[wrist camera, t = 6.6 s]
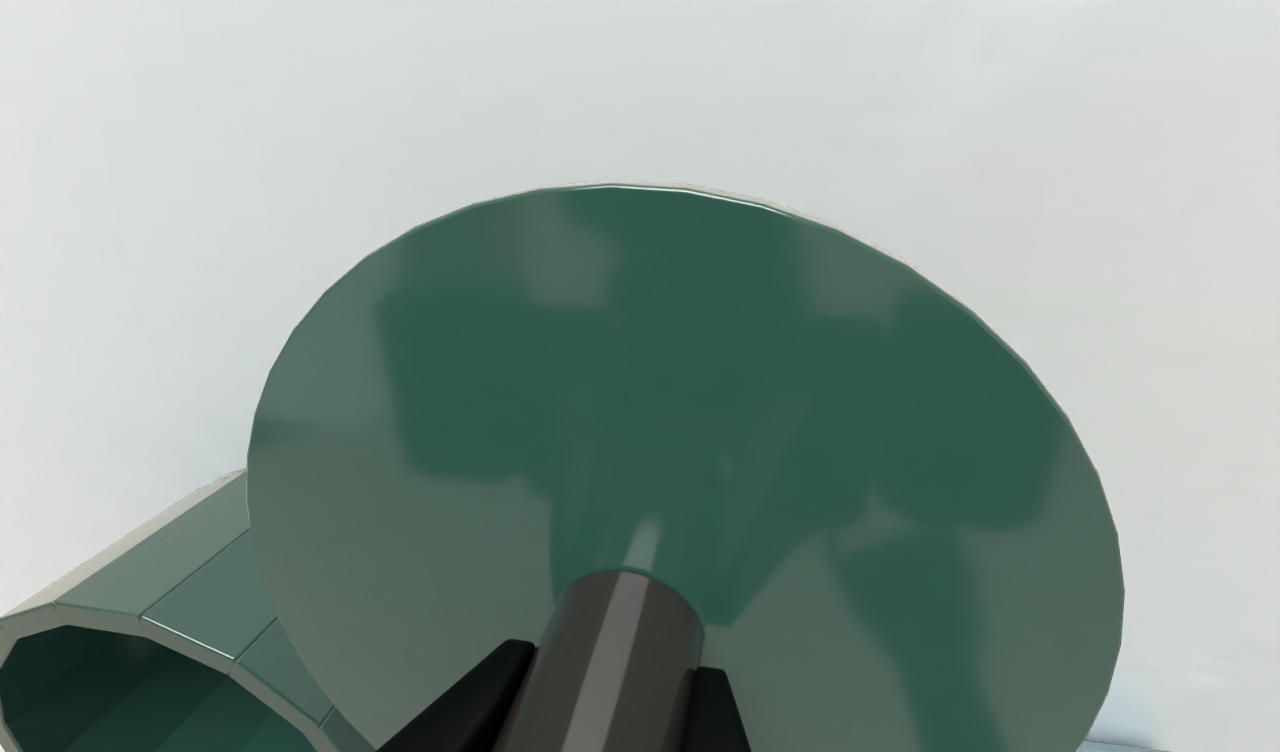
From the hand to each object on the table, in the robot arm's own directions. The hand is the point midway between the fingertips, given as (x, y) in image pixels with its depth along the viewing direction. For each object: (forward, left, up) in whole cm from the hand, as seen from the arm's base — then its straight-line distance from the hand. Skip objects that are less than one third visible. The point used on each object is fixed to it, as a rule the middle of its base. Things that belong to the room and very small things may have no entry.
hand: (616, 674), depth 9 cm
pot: (+13, +9, -9) cm, 18 cm away
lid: (0, 0, -1) cm, 1 cm away
